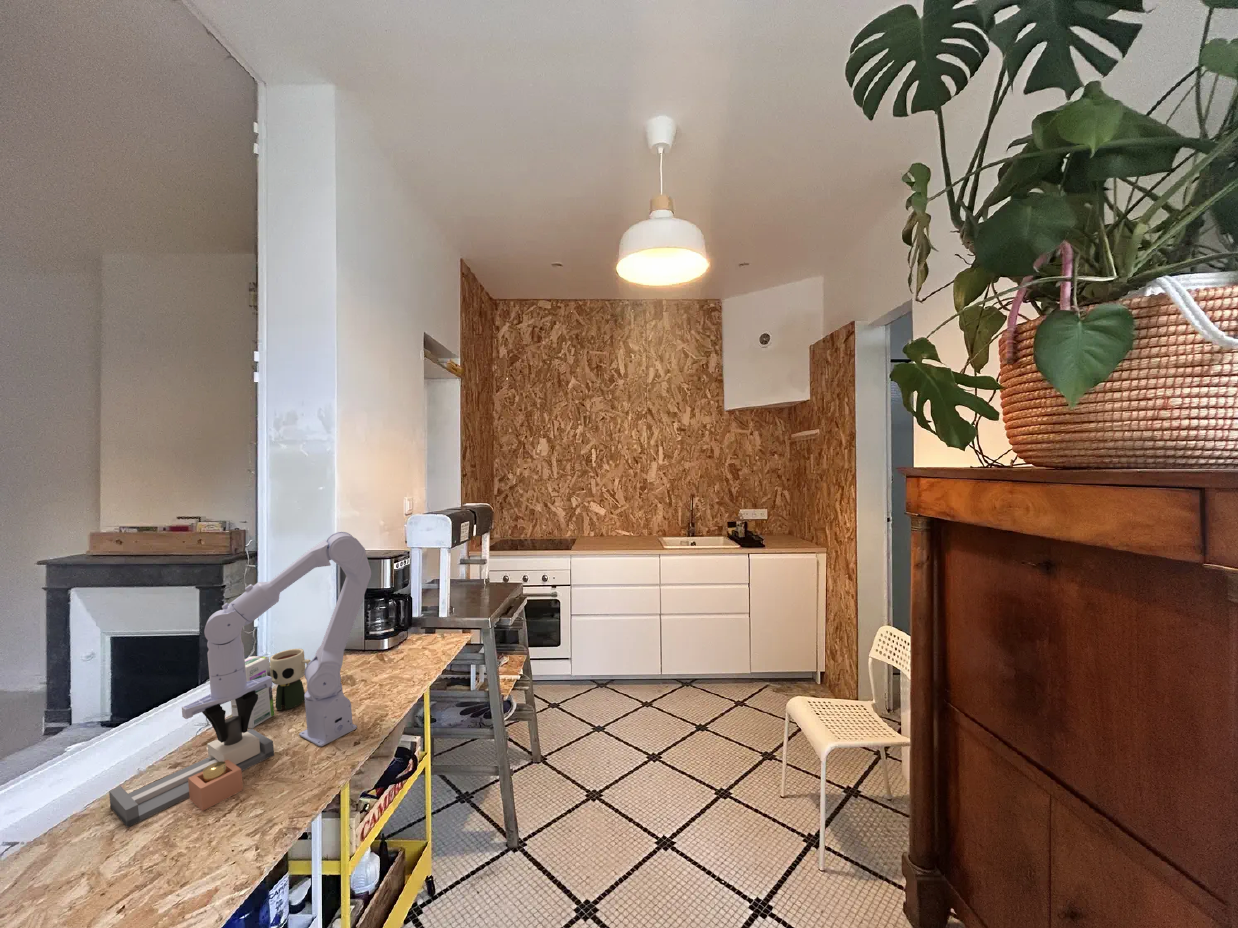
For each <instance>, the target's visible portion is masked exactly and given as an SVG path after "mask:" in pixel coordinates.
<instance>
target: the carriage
mask: <svg viewBox="0 0 1238 928" xmlns="http://www.w3.org/2000/svg"><path fill="white" fill-rule="evenodd" d="M225 731H226V741H225V742H222V743H221V742H220V741H218V738H217V739H214V740H212V741H210V742H208V743H206V744H207V758H209V759H210V760H212V759H214V758H215V759H217V760H218V761H219V762H221V761H226V760H229V761H231V762H232V763H234V764H235V765H236V764H238V763H240V762H243V761H245V760H247V759H249V758H251V757H253V756H255V755H257V754H259V753H260V743H259V738H257V737H256V736H254V735H252V734H251V733H249V732H245V733H242V725H241V716H233V717H232V716H229V717H227V718H225Z"/></svg>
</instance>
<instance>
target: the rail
mask: <svg viewBox="0 0 1238 928" xmlns="http://www.w3.org/2000/svg"><path fill="white" fill-rule="evenodd" d="M247 732H249V733H251V734H252V735H254V736H256V737H257V738H259V743H260V753H259V754H257V755H255V756H253V757H251V758H249V759H247V760H245V761H243V762H240V763H238V764H236V766H238V767H239V768H241V771H242V772H243V771H245V770H246V769H249V768H251V767H253V766H255V765H258V764H259V763H261V762H262V761H265V760H267V759H269V758H271V757H273V756H275V749H274V740H272V739H270V738H269V737H267V736H266V735H263V734H262V733H260V732H258V731H257V730H255V729H254V728H248V730H247ZM216 762H219V761H218V760H217V759H215V758H214V759H212V760H210V759H209V758H208V757H206V758H204V759H202V760H199V761H197V762H195V763H193V764H191V765H188V766H186V767H184V768H182V769H179V770H177V771H175V772H173V773H171V774H169V775H167V776H164V777H162V778H160V779H157V780H156V781H153V782H150V783H148V784H146V785H145V786H142V787H140V788H138V789H137V788H136V790H133V791H131V792H129V793H128V792H127V791H126V790H125V789H124V787H123V786H122V785H120V786H118V787H117V786H116V787H114V788H113V789H111V790H108V792H109V793H108V795H109V805H110V809H111V810H112V811H113V812H114V813H115V815H116V816H117V818H119V819H120V820H121V822H122V823H123V824H124V825H125V827H126V828H129V827H131V826H133V825H134V826H135V824H137V823H139V822H141V821H144V820H146V819H148V818H150V817H151V816H154V815H156V814H158V813H160V812H162V811H164V810H166V809H168V808H170V807H172V806H174V805H176V804H178V803H181V802H182V801H184V800H187V799H188V798H190V796H189V784H188V778H189V777H191V776H194V775H196V774H198V773H200V772H202V771H203V770H204V769H205V768H206V767H207V766H209V765H211V764H213V763H216Z"/></svg>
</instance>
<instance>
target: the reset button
mask: <svg viewBox="0 0 1238 928" xmlns="http://www.w3.org/2000/svg"><path fill="white" fill-rule="evenodd" d="M224 774H226V763H225V762H223V761H221V762H216V763H213V764H211V765H209V766H207V767H206V768H205V769H204V770H203V778H204V783H208V782H210V781H212V780H214V779H216V778H218V777H220V776H222V775H224Z"/></svg>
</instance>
